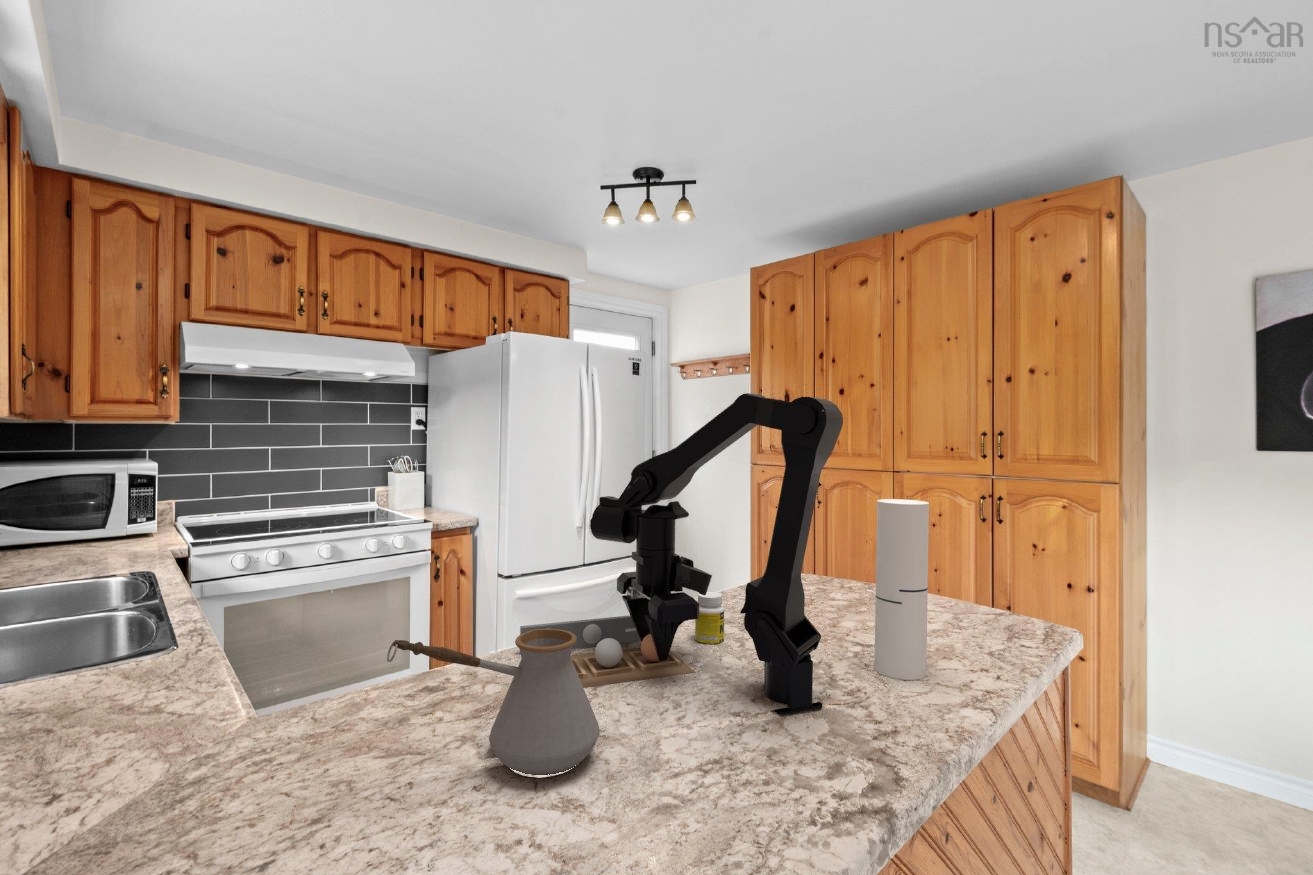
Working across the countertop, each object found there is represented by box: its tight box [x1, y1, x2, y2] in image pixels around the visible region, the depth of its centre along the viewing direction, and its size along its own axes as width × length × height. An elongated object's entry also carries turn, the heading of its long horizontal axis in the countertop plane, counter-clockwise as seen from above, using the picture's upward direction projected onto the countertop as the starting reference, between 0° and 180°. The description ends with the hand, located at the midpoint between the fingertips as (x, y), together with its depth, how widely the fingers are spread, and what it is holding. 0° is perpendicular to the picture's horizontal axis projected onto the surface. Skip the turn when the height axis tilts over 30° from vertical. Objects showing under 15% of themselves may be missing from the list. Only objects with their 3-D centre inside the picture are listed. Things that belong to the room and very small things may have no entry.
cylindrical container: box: [874, 498, 930, 681], centre depth 93 cm, size 7×7×25 cm
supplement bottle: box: [694, 591, 725, 646], centre depth 102 cm, size 5×5×8 cm
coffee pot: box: [386, 629, 600, 775], centre depth 64 cm, size 21×12×15 cm, turn 120°
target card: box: [519, 614, 641, 655], centre depth 99 cm, size 1×22×5 cm, turn 112°
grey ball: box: [594, 638, 623, 668], centre depth 90 cm, size 4×4×4 cm
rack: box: [570, 647, 697, 689], centre depth 90 cm, size 12×22×2 cm, turn 111°
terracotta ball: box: [640, 634, 660, 662], centre depth 93 cm, size 4×4×4 cm
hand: (654, 652), depth 93 cm, fingers open, 7 cm apart
